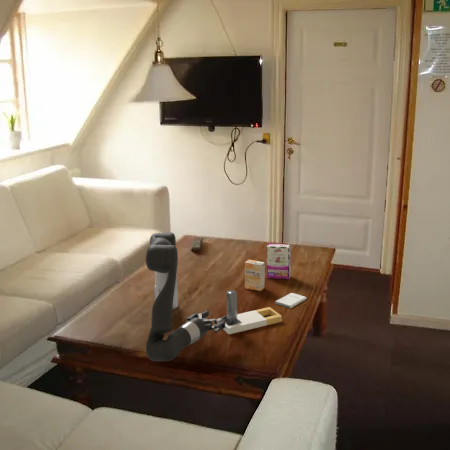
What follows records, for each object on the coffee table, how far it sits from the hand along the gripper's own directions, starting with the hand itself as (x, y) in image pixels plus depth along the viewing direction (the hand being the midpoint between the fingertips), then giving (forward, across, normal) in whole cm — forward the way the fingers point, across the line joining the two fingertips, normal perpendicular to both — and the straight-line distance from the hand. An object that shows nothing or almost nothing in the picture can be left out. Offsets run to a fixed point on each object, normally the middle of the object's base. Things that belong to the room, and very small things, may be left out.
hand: (217, 315), depth 221 cm
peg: (+10, 0, +9) cm, 14 cm away
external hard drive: (+45, -8, +10) cm, 47 cm away
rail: (+17, -4, +9) cm, 20 cm away
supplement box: (+49, +13, +9) cm, 52 cm away
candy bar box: (+67, +11, +9) cm, 69 cm away
